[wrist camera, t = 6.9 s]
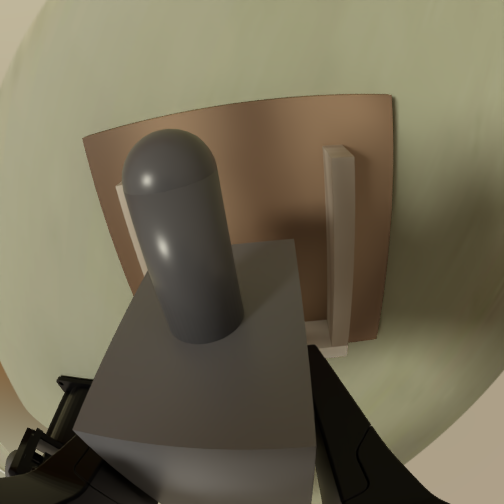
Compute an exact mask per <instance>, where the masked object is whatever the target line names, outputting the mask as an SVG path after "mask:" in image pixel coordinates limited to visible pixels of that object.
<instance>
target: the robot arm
mask: <svg viewBox="0 0 504 504" xmlns="http://www.w3.org/2000/svg"><path fill="white" fill-rule="evenodd" d="M307 348H308V357H309V367H310V377H311V387H312V398H313V410H314V422H315V434H316V458H315V466H316V471H317V477H318V482H319V488H320V493H321V499H322V504H450V503H447V502H445V501H443V500H441V499H439V498H438V497H436V496H434V495H433V494H432V493H430V492H429V491H428V490H427V489H426V488H425V487H424V486H423V485H422V484H421V483H420V482H419V481H418V480H417V479H416V478H415V477H414V476H413V475H412V474H411V473H410V472H409V471H408V469H407V468H406V467H405V466H404V465H403V464H402V463H401V462H400V461H399V460H398V459H397V458H396V456H395V455H394V454H393V453H392V452H391V451H390V450H389V448H388V447H387V446H386V444H385V443H384V442H383V440H382V439H381V438H380V436H379V435H378V434H377V432H376V431H375V429H374V428H373V426H371V424H370V422H369V421H368V419H367V418H366V417H365V415H364V414H363V412H362V411H361V409H360V408H359V406H358V405H357V404H356V402H355V401H354V399H353V398H352V396H351V395H350V393H349V392H348V391H347V389H346V388H345V386H344V385H343V383H342V382H341V380H340V379H339V377H338V376H337V375H336V373H335V372H334V370H333V369H332V367H331V366H330V364H329V363H328V362H327V360H326V359H325V357H324V356H323V354H322V353H321V351H320V350H319V349H318V347H317V346H316V345H315V344H311V345H307ZM92 382H93V381H88V380H80V379H73V378H66V377H58V379H57V383H58V385H59V386H60V387H61V388H62V390H63V391H64V392H65V393H64V395H63V397H62V400H61V402H60V404H59V406H58V408H57V410H56V413H55V415H54V417H53V419H52V422H51V424H50V426H49V428H48V431H47V433H46V434H45V433H43V431H42V430H40V429H39V428H37V429H36V431H35V430H32V429H30V428H27V430H26V432H25V434H24V436H23V439H22V441H21V443H20V445H19V448H18V450H17V452H16V454H15V456H14V458H13V461H12V463H11V465H10V468H9V470H8V474H9V476H10V477H4V478H0V504H158V501H156V500H155V499H153V498H152V497H151V496H149V495H148V494H147V493H145V492H144V491H142V490H141V489H140V488H138V487H137V486H136V485H134V484H133V483H132V482H131V481H129V480H128V479H127V478H126V477H124V476H123V475H122V474H121V473H119V472H118V471H117V470H116V469H115V468H113V467H112V466H111V465H110V464H109V463H107V462H106V461H105V460H104V459H103V458H102V457H101V456H99V455H98V454H97V453H96V452H95V451H94V450H93V449H92V448H91V447H90V446H89V445H87V444H86V443H85V442H84V441H83V440H82V439H81V438H80V437H79V436H78V435H77V434H76V433H75V432H74V431H73V430H72V429H73V427H74V424H75V422H76V420H77V417H78V415H79V412H80V410H81V407H82V405H83V403H84V400H85V398H86V396H87V393H88V391H89V389H90V387H91V384H92ZM36 449H38V450H39V451H41V452H43V453H44V454H43V456H41V455H39V454H38V453H36V452H35V450H36Z"/></svg>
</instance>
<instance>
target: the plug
mask: <svg viewBox="0 0 504 504" xmlns="http://www.w3.org/2000/svg"><path fill="white" fill-rule="evenodd" d="M122 186H123V192H124V195H125V199H126V202H127V206H128V209H129V213H130V216H131V219H132V223H133V226H134V229H135V232H136V236H137V239H138V242H139V245H140V248H141V251H142V254H143V257H144V260H145V263H146V266H147V269H148V271H147V273H146V274H145V276H144V278H143V280H142V282H141V284H140V286H139V287H138V289H137V291H136V293H135V295H134V297H133V299H132V301H131V303H130V305H129V307H128V309H127V311H126V313H125V315H124V317H123V319H122V321H121V323H120V325H119V327H118V329H117V331H116V333H115V335H114V337H113V339H112V341H111V343H110V345H109V347H108V349H107V351H106V354H105V356H104V358H103V360H102V362H101V364H100V367H99V369H98V371H97V373H96V375H95V378H94V380H93V382H92V384H91V387H90V389H89V391H88V393H87V396H86V398H85V400H84V403H83V405H82V407H81V410H80V412H79V415H78V417H77V420H76V422H75V424H74V427H73V429H72V430H73V431H74V432H75V433H76V434H77V435H78V436H79V437H80V438H81V439H82V440H83V441H84V442H85V443H86V444H87V445H89V446H90V447H91V448H92V449H93V450H94V451H95V452H96V453H97V454H98V455H99V456H101V457H102V458H103V459H104V460H105V461H106V462H107V463H109V464H110V465H111V466H112V467H113V468H115V469H116V470H117V471H118V472H119V473H121V474H122V475H123V476H124V477H126V478H127V479H128V480H129V481H131V482H132V483H133V484H134V485H136V486H137V487H138V488H140V489H141V490H142V491H144V492H145V493H147V494H148V495H149V496H151V497H152V498H153V499H155V500H156V501H158V502H159V503H161V504H311V501H312V491H313V481H314V470H315V458H316V434H315V422H314V410H313V398H312V387H311V377H310V367H309V357H308V348H307V338H306V329H305V321H304V312H303V304H302V296H301V288H300V280H299V272H298V265H297V257H296V250H295V243H294V239H285V240H274V241H264V242H253V243H242V244H232V245H231V241H230V235H229V230H228V225H227V219H226V214H225V208H224V203H223V197H222V191H221V186H220V180H219V175H218V169H217V164H216V161H215V158H214V156H213V154H212V152H211V150H210V149H209V147H208V146H207V145H206V144H205V143H204V141H202V140H201V139H200V138H199V137H197V136H196V135H194V134H192V133H190V132H188V131H184V130H180V129H163V130H158V131H155V132H152V133H150V134H148V135H147V136H145V137H143V138H142V139H141V140H139V141H138V142H137V143H136V144H135V145H134V146H133V148H132V149H131V150H130V152H129V153H128V155H127V158H126V160H125V162H124V166H123V170H122Z"/></svg>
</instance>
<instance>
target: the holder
mask: <svg viewBox="0 0 504 504" xmlns="http://www.w3.org/2000/svg"><path fill="white" fill-rule="evenodd" d="M163 129H180V130H184V131H188V132H190V133H192V134H194V135H196V136H197V137H199V138H200V139H201V140H202V141H204V143H205V144H206V145H207V146H208V147H209V149H210V150H211V152H212V154H213V156H214V158H215V161H216V164H217V169H218V175H219V180H220V186H221V191H222V197H223V203H224V208H225V214H226V219H227V225H228V230H229V235H230V241H231V245H232V244H242V243H253V242H264V241H274V240H285V239H294V243H295V250H296V257H297V265H298V272H299V280H300V288H301V296H302V304H303V312H304V321H305V329H306V338H307V345H311V344H315V345H316V346H317V347H318V349H319V350H320V351H321V353H322V354H323V356H324V357H325V358H333V357H342V356H347V349H348V343H349V342H357V341H364V340H372V339H377V333H378V327H379V321H380V315H381V308H382V301H383V294H384V287H385V279H386V270H387V261H388V251H389V239H390V227H391V211H392V190H393V115H392V95H388V94H336V95H314V96H299V97H286V98H275V99H265V100H257V101H248V102H241V103H233V104H226V105H220V106H214V107H208V108H202V109H196V110H191V111H185V112H180V113H175V114H170V115H166V116H161V117H157V118H152V119H148V120H144V121H140V122H136V123H132V124H128V125H124V126H120V127H116V128H113V129H109V130H106V131H102V132H99V133H95V134H92V135H89V136H86V137H84V138H82V139H83V143H84V147H85V151H86V155H87V159H88V162H89V166H90V170H91V173H92V177H93V181H94V184H95V187H96V191H97V194H98V197H99V201H100V204H101V207H102V210H103V213H104V217H105V220H106V223H107V226H108V229H109V232H110V235H111V237H112V240H113V243H114V246H115V249H116V252H117V254H118V257H119V260H120V263H121V265H122V268H123V270H124V273H125V276H126V278H127V281H128V283H129V286H130V288H131V291H132V293H133V296H134V295H135V293H136V291H137V289H138V287H139V286H140V284H141V282H142V280H143V278H144V276H145V274H146V273H147V271H148V269H147V266H146V263H145V260H144V257H143V254H142V251H141V248H140V245H139V242H138V239H137V236H136V232H135V229H134V226H133V223H132V219H131V216H130V213H129V209H128V206H127V202H126V199H125V195H124V192H123V186H122V170H123V166H124V162H125V160H126V158H127V155H128V153H129V152H130V150H131V149H132V148H133V146H134V145H135V144H136V143H137V142H138V141H139V140H141V139H142V138H143V137H145V136H147V135H148V134H150V133H152V132H155V131H158V130H163Z"/></svg>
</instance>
